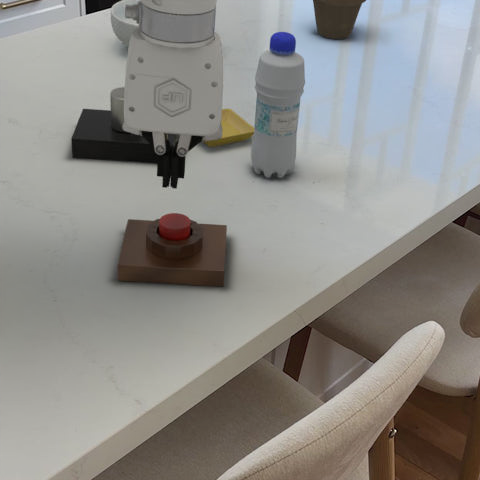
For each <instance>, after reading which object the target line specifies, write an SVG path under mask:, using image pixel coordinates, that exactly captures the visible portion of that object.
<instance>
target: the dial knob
mask: <svg viewBox="0 0 480 480" xmlns="http://www.w3.org/2000/svg"><path fill="white" fill-rule="evenodd" d="M124 90H125V86H121V87H116V88H114V89H112V90H111V91H110V95H109V96H110V111H111V127H112V128H113V129H114V130H116V131H119V132H126V131H124V130H123V128H122V125H123V122H124Z"/></svg>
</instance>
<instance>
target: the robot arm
mask: <svg viewBox="0 0 480 480" xmlns="http://www.w3.org/2000/svg"><path fill="white" fill-rule="evenodd" d="M217 2H218V1H217V0H140V1H138V3H137V4H133V5H126V7H125V18H131V19H133V20H136V23H137V24H139V26H138V27H136V28H135V29H134V31H133V32H132V35H131V39H130V43H129V46H128V49H127V55H126V64H125V65H126V66H125V76H124V87H125V90H124V122H123V125H122V128H123V130H124V131H126V132H129V133H133V134H136V135H141V136H143V137H144V138H145V139H146V141H147V142H148V143H149V144H150V145H151V146H152V147H153V148H154V149H155V152H156V153H157V154H158V158H157V163H156V170H157V171H156V177H161V178H162V185H161V186H162V188H166V189H167V188H169V187H170V188H172V189H178V183H179V179H182V180H184V179H185V173H186V157H187V155H188V153H189V152H190V151H191V150H192V149H194V148H195V147H197V146H198V145H199V144H201V143H202V142H203V141H211V140H218V139H221V138H222V132H223V130H222V124H221V115H222V109H223V101H224V100H223V99H224V97H223V96H224V56H223V47H222V40H221V36H220V35H219V33H217V32H215V30H216V29H215V28H216V13H217ZM167 133H170V134H178V139H177V142H175V146H174V147H173V152H172V146H170V145H171V143H170V141H169V140H168V136H167Z"/></svg>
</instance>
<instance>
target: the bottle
mask: <svg viewBox="0 0 480 480" xmlns="http://www.w3.org/2000/svg"><path fill="white" fill-rule="evenodd" d="M296 45H297V40H296V37H295V35H293V33H290V32H288V31H287V32H286V31H277V32H274V33H273V34H272V35H271V36H270V40H269V49H268V50H266V51H263V52H262V53H260V55H259V59H258V63H257V68H256V72H255V76H254V81H255V84H254V89H255V92H256V99H255V112H254V113H255V115H254V126H253V127H254V135H253V136H252V142H251V147H250V148H251V149H250V158H251V164H252V168H253V171H254V172H255V173H256V174H257V175H261V174H262V173H263V175H264V177H265V178H267V179H270V178H271V177H272V174H274V173H276V177H277V179H282V178H284V177H285V175H289V174H290V173H292V172H293V170H294V167H295V164H296V160H297V159H296V158H297V137H298V136H297V134H298V126H299V117H300V116H299V115H300V108H301V97H302V95H303V94H304V92H305V90H304V87H305V85H306V75H305V74H306V73H305V72H306V71H305V59H304V57H303V55H301V54H299V53H298V52H296V47H297V46H296Z"/></svg>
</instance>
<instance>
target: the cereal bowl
mask: <svg viewBox="0 0 480 480" xmlns="http://www.w3.org/2000/svg"><path fill="white" fill-rule="evenodd" d="M138 1H140V0H119V1H117V2H116V3H114V4H112V6H111V8H110V23H111V28H112V31H113V33H114V35H115V37H117V39H118V40H119V41H120V42H121V43H122V44H124V45H125V46H127V47H129V43H130V39H131V35H132V32H133V31H134V29H135V28H136V27H138V26H139V24H137V23H136V20H133V19H131V18H125V7H126V5H133V4H137V3H138Z"/></svg>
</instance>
